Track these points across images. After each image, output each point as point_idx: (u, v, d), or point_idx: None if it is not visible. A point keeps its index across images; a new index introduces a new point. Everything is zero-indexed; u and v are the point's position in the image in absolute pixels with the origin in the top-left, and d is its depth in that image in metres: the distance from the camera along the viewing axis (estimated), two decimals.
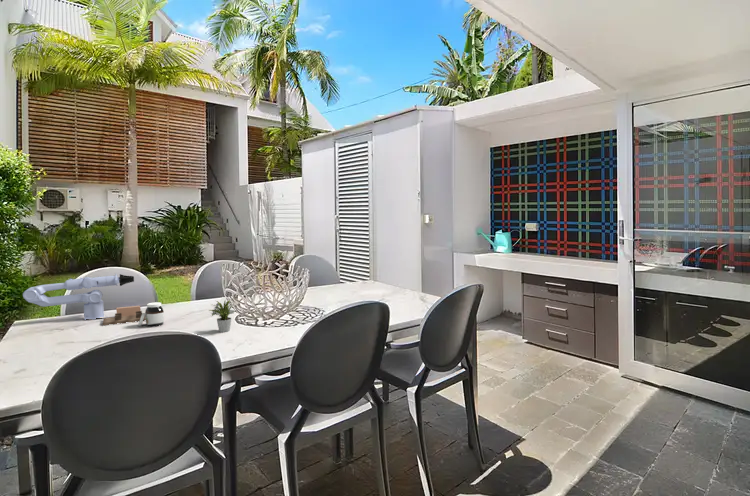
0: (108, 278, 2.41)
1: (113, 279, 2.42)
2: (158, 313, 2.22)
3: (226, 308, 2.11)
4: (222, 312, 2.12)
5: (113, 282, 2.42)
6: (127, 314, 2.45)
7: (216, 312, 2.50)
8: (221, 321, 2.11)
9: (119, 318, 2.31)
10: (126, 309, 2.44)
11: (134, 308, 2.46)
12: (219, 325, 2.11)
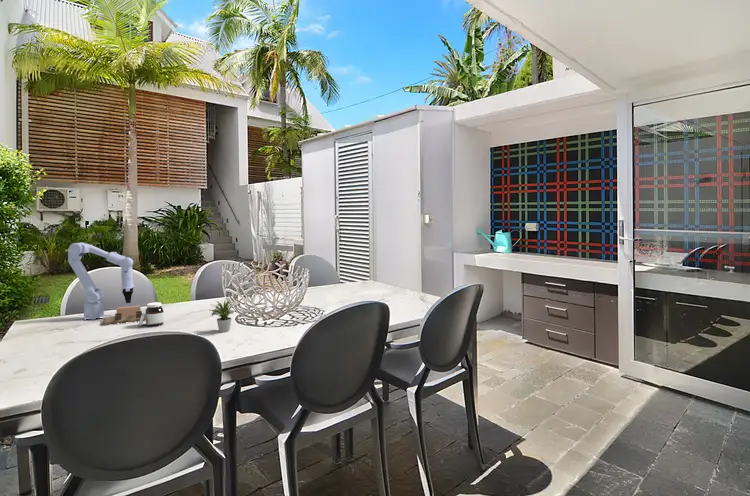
0: (130, 280, 2.44)
1: (129, 285, 2.43)
2: (158, 313, 2.22)
3: (226, 308, 2.11)
4: (222, 312, 2.12)
5: (125, 285, 2.42)
6: (127, 314, 2.45)
7: (216, 312, 2.51)
8: (221, 321, 2.11)
9: (119, 318, 2.31)
10: (126, 309, 2.44)
11: (134, 308, 2.46)
12: (219, 325, 2.11)
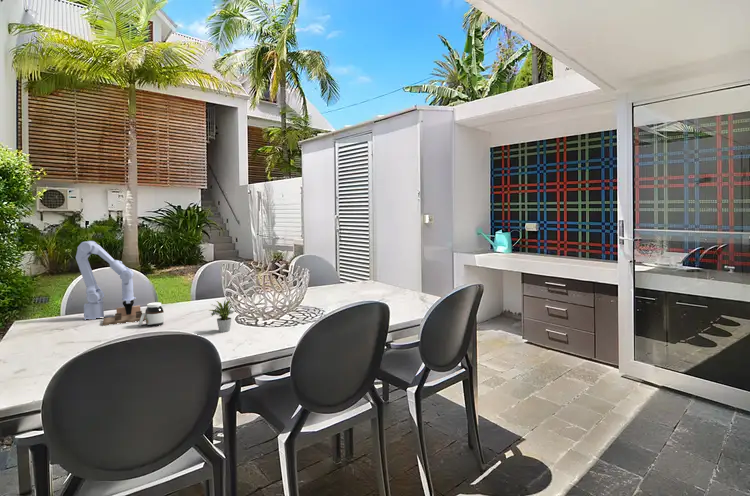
0: (131, 292, 2.44)
1: (129, 297, 2.44)
2: (158, 313, 2.22)
3: (226, 308, 2.11)
4: (222, 312, 2.12)
5: (126, 297, 2.43)
6: None
7: None
8: (221, 321, 2.11)
9: (119, 318, 2.31)
10: None
11: (134, 308, 2.46)
12: (219, 325, 2.11)
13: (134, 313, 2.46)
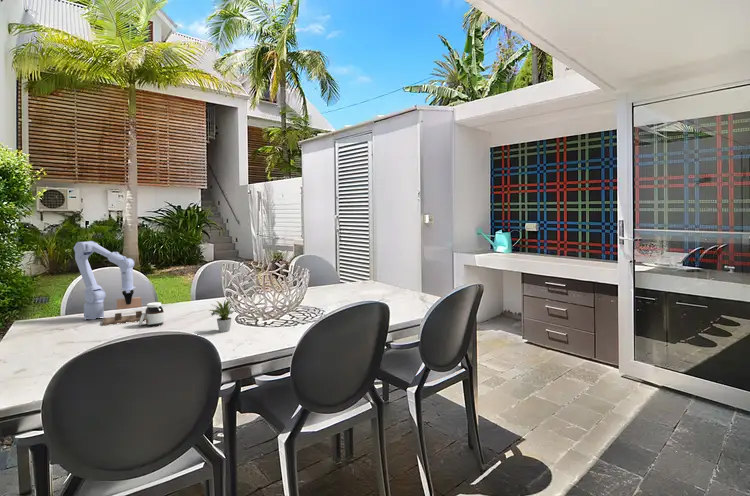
0: (131, 282, 2.38)
1: (129, 286, 2.38)
2: (158, 313, 2.22)
3: (226, 308, 2.11)
4: (222, 312, 2.12)
5: (126, 286, 2.37)
6: (127, 305, 2.39)
7: (215, 312, 2.51)
8: (221, 321, 2.11)
9: (119, 318, 2.31)
10: None
11: (135, 299, 2.40)
12: (219, 325, 2.11)
13: (135, 305, 2.41)
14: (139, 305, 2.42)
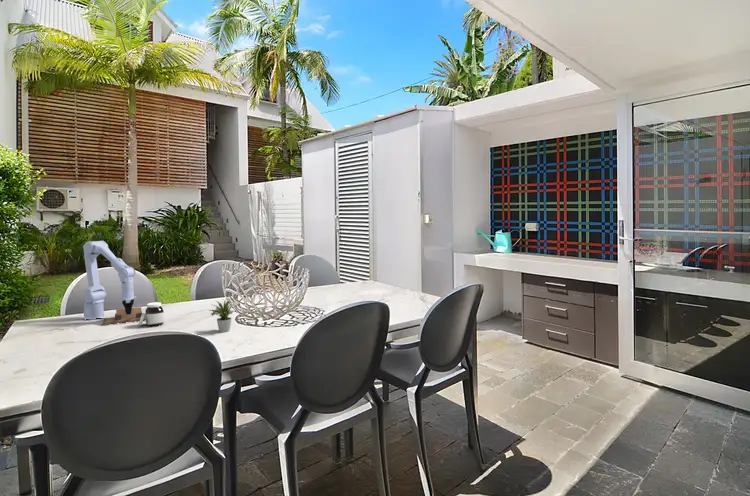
0: (131, 291, 2.34)
1: (129, 296, 2.33)
2: (158, 313, 2.22)
3: (226, 308, 2.11)
4: (222, 312, 2.12)
5: (126, 296, 2.32)
6: (127, 315, 2.34)
7: (215, 312, 2.51)
8: (221, 321, 2.11)
9: (119, 318, 2.31)
10: None
11: (135, 309, 2.36)
12: (219, 325, 2.11)
13: (135, 314, 2.36)
14: None
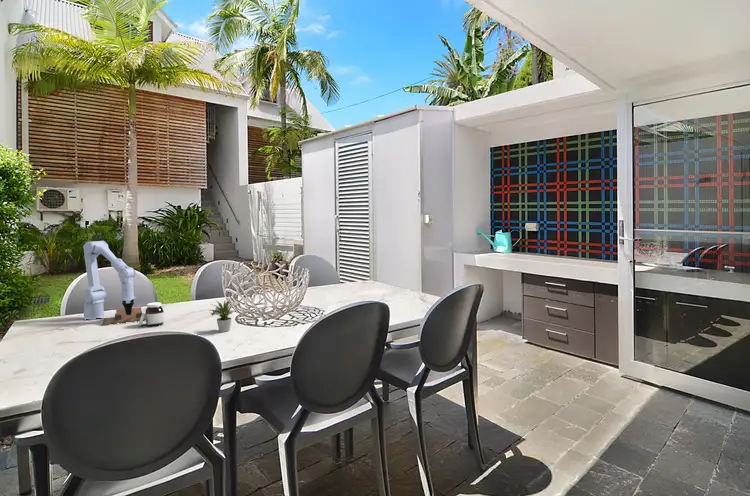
0: (131, 291, 2.34)
1: (129, 296, 2.33)
2: (158, 313, 2.22)
3: (226, 308, 2.11)
4: (222, 312, 2.12)
5: (126, 296, 2.32)
6: (127, 315, 2.34)
7: None
8: (221, 321, 2.11)
9: (119, 318, 2.31)
10: None
11: (135, 309, 2.36)
12: (219, 325, 2.11)
13: (135, 314, 2.36)
14: None
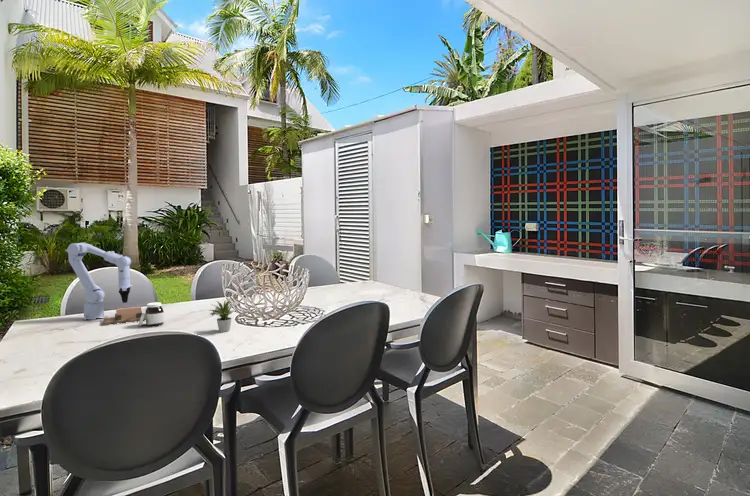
0: (127, 280, 2.40)
1: (126, 284, 2.40)
2: (158, 313, 2.22)
3: (226, 308, 2.11)
4: (222, 312, 2.12)
5: (122, 284, 2.39)
6: (127, 315, 2.34)
7: None
8: (221, 321, 2.11)
9: (119, 318, 2.31)
10: (126, 310, 2.34)
11: (135, 309, 2.36)
12: (219, 325, 2.11)
13: (135, 314, 2.36)
14: None
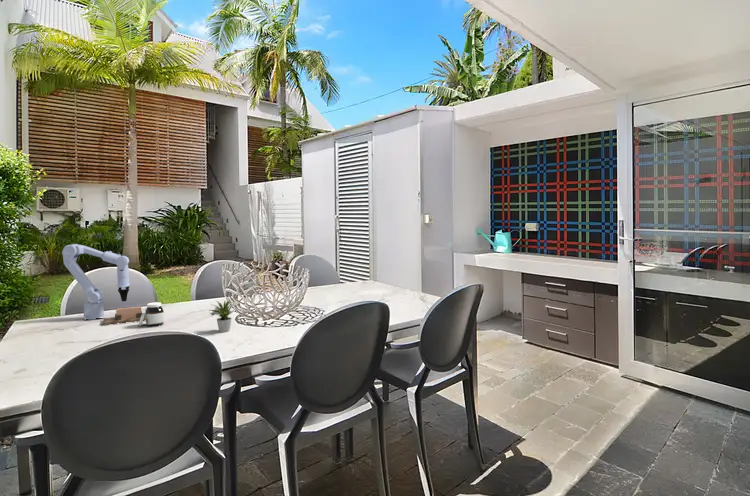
0: (126, 279, 2.43)
1: (125, 283, 2.43)
2: (158, 313, 2.22)
3: (226, 308, 2.11)
4: (222, 312, 2.12)
5: (121, 283, 2.42)
6: (127, 315, 2.34)
7: None
8: (221, 321, 2.11)
9: (119, 318, 2.31)
10: (126, 310, 2.34)
11: (135, 309, 2.36)
12: (219, 325, 2.11)
13: (135, 314, 2.36)
14: None
